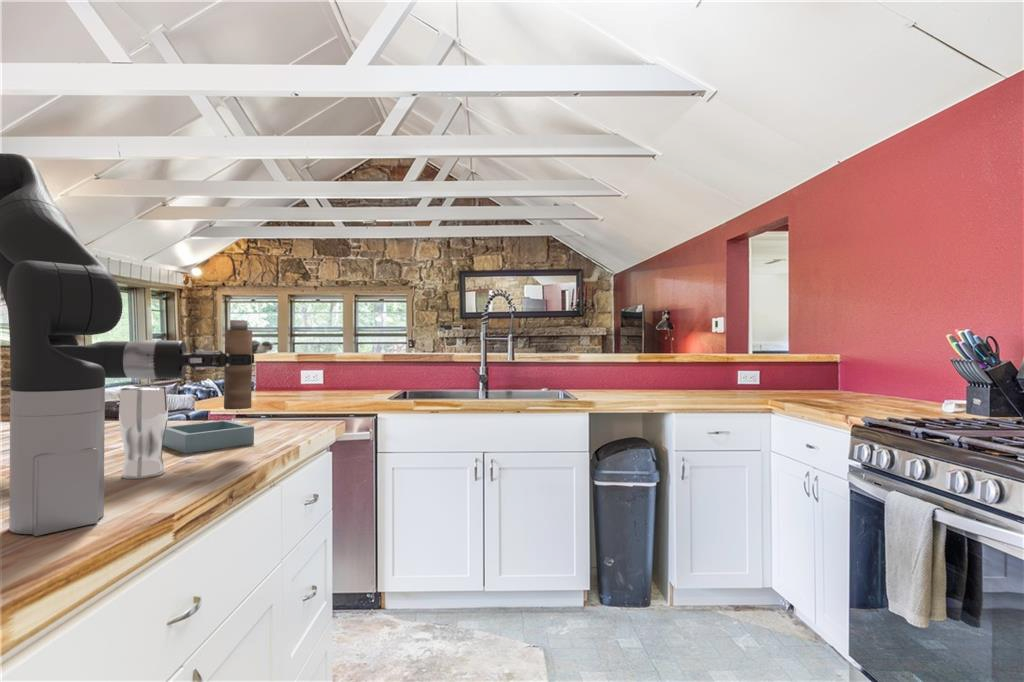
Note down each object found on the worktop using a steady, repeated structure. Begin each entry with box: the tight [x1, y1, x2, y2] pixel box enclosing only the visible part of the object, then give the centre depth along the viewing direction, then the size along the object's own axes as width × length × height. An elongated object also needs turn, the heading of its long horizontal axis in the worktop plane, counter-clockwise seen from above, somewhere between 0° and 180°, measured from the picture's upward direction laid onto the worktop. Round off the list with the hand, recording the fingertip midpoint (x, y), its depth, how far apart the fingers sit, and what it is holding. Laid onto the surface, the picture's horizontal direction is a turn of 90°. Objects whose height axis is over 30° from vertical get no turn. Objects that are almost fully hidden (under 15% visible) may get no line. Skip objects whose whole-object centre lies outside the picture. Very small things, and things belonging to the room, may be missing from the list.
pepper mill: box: [223, 319, 253, 411], centre depth 108 cm, size 5×5×18 cm
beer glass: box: [118, 385, 169, 480], centre depth 91 cm, size 7×7×15 cm
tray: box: [162, 419, 255, 454], centre depth 117 cm, size 14×14×4 cm
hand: (252, 359), depth 109 cm, fingers closed on pepper mill, 5 cm apart
